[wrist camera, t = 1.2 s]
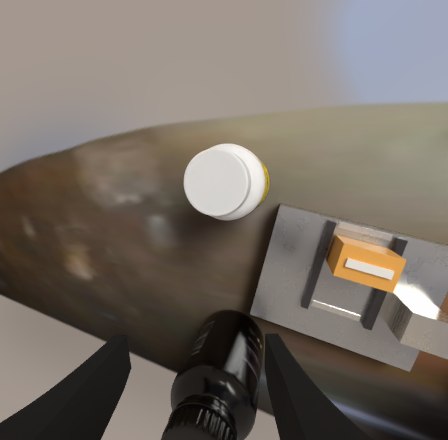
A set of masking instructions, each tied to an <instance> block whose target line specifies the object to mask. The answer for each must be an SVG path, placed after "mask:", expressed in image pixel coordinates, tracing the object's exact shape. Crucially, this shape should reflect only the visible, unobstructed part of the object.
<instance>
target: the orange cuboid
mask: <svg viewBox="0 0 448 440" xmlns="http://www.w3.org/2000/svg"><path fill="white" fill-rule="evenodd" d="M406 261H407V260H406V259H404V258H402V257H401V256H399V255H398V254H396V253H395V252H393V251H392V250H390V249H388V248H385V247H381V246H377V245H374V244H370V243H366V242H362V241H358V240H355V239H351V238H347V237H343V236H339V235H335V238H334V241H333V244H332V247H331V250H330V253H329V256H328V259H327V264H328V266H329V268H330V270H331V272H332V274H333V275H334V276H337V277H340V278H344V279H347V280H350V281H354V282H357V283H360V284H364V285H367V286H370V287H374V288H377V289H380V290H384V291H387V292H390V293H393V292H394V290H395V287H396V285H397V283H398V280H399V278H400V275H401V273H402V271H403V268H404V266H405V263H406Z"/></svg>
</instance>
